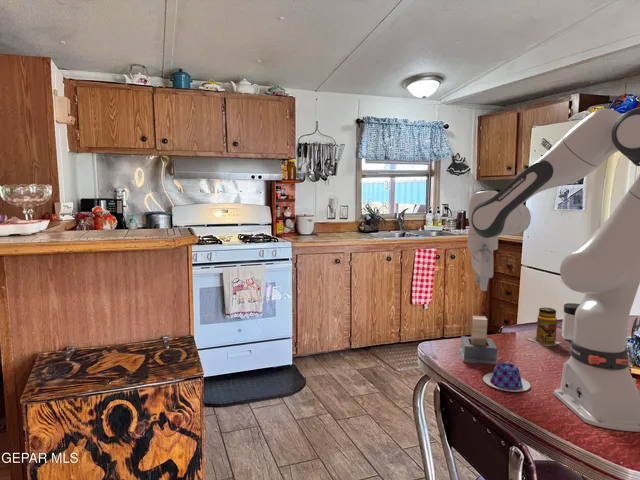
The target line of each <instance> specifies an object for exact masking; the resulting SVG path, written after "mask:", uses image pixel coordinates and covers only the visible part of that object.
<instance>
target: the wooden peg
mask: <svg viewBox="0 0 640 480" xmlns="http://www.w3.org/2000/svg"><path fill="white" fill-rule="evenodd" d="M487 330H488V318H487V317H486V316H485V315H471V332H470V337H471V345H484V346H486V338H488V337H487V335H488V331H487Z"/></svg>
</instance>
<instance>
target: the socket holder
mask: <svg viewBox="0 0 640 480" xmlns="http://www.w3.org/2000/svg"><path fill="white" fill-rule="evenodd" d="M460 338H461V339H460V347H459V352H460V356H461V360H462V362H463V363H469V364H470V363H471V364H484V365H495V366H496V364H497V363H499V362H498V360H497V357H498V356H497V354H498V348H497V346H496V344H495V342H494V340H493V338H489V337H487V338H486V346H484V345H471V336H460Z"/></svg>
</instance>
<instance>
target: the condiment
mask: <svg viewBox="0 0 640 480" xmlns="http://www.w3.org/2000/svg"><path fill="white" fill-rule="evenodd" d="M538 311H539V312H538V315H537V320H536V336H534V337H531V338H530V337H529V338H526V340H528V341H532V342H534V343H537V344H539V345H542V346H545V347H552V346H556V345H559V344H561V342H560V341H556V339H557V325H558V318H557V311H556V309H555V308H552V307H539V309H538Z"/></svg>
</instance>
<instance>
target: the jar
mask: <svg viewBox="0 0 640 480" xmlns="http://www.w3.org/2000/svg"><path fill="white" fill-rule="evenodd" d="M580 304H581V303H574V302H573V303H571V302H569V303H564V304H563V311H562V324H561V326H562V327H561V336H562V338H563V340H567V341H570V342H571V341H572V340H573V337H574V322H575V312H576V309H577V308H578V306H579V305H580Z"/></svg>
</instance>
